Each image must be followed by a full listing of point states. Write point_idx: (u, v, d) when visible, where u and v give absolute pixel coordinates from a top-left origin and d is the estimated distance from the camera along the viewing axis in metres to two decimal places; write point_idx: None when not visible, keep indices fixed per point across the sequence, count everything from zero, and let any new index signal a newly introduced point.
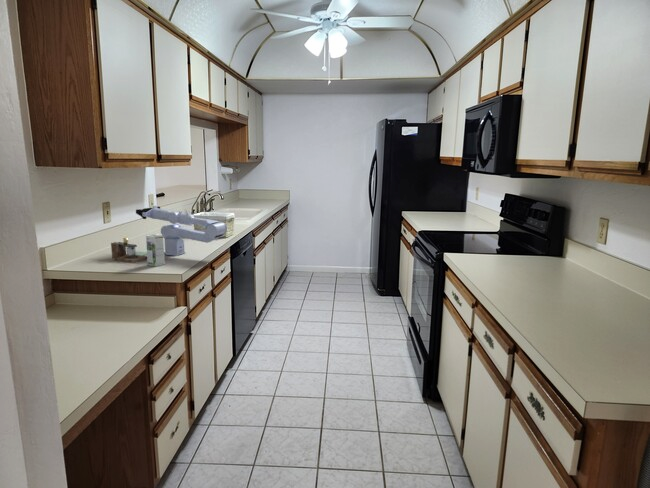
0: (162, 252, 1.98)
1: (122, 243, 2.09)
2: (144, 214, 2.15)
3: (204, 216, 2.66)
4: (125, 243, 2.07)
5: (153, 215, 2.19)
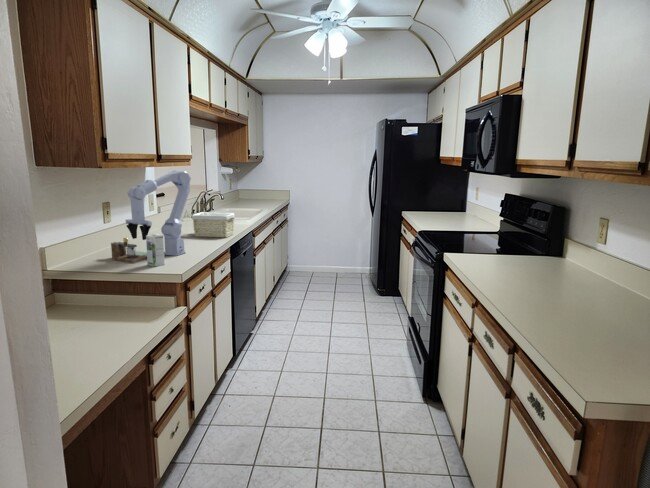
0: (162, 252, 1.98)
1: (122, 243, 2.09)
2: (149, 222, 2.02)
3: (204, 216, 2.66)
4: (125, 243, 2.07)
5: (143, 218, 2.04)
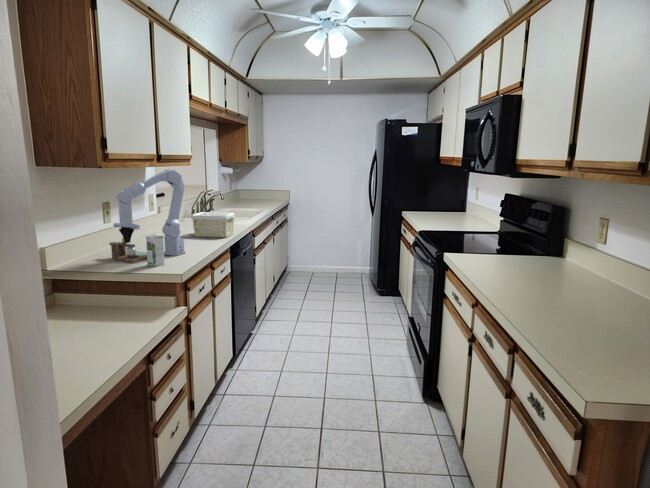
0: (162, 252, 1.98)
1: (120, 243, 2.09)
2: (137, 226, 2.03)
3: (204, 216, 2.66)
4: (123, 243, 2.07)
5: (131, 222, 2.05)
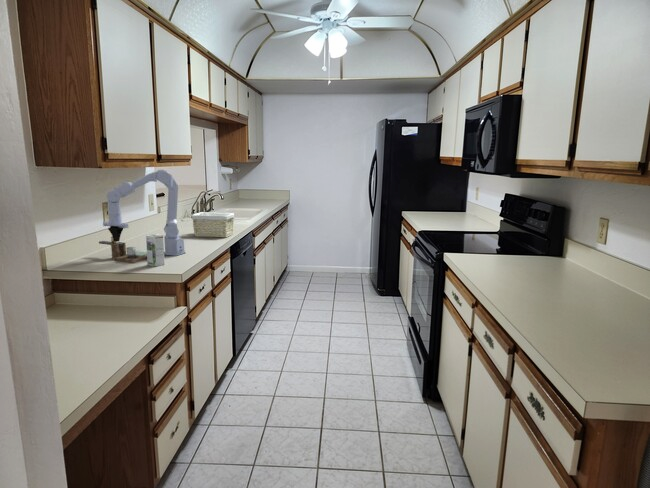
0: (162, 252, 1.98)
1: (110, 242, 2.12)
2: (126, 225, 2.05)
3: (204, 216, 2.66)
4: (113, 242, 2.09)
5: (120, 221, 2.07)
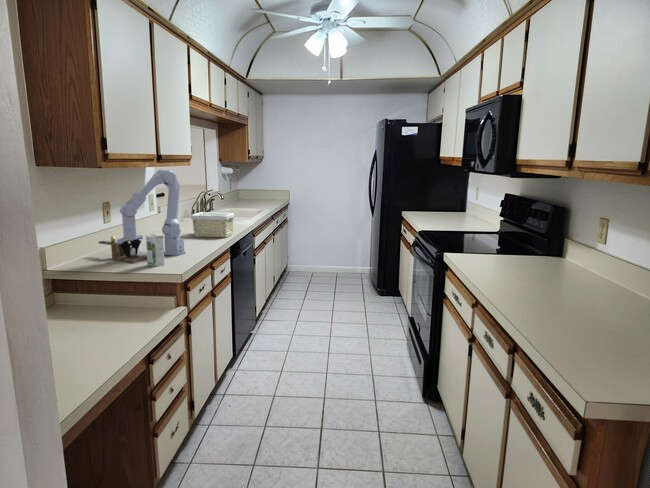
0: (162, 252, 1.98)
1: (109, 242, 2.12)
2: None
3: (204, 216, 2.66)
4: (112, 241, 2.09)
5: None
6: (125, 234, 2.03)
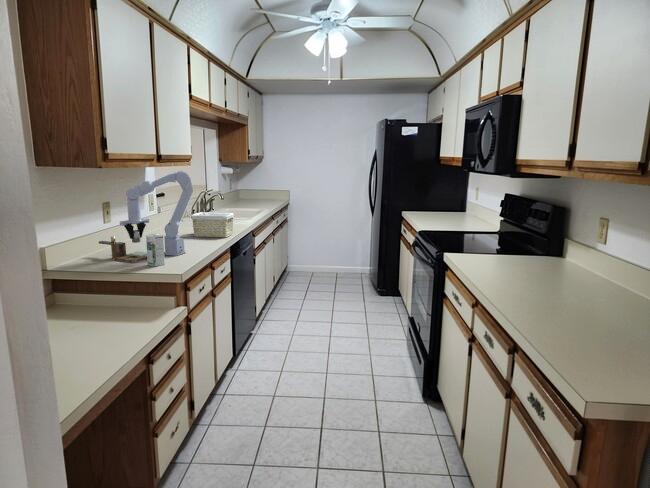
0: (162, 252, 1.98)
1: (109, 242, 2.12)
2: None
3: (203, 216, 2.66)
4: (112, 241, 2.09)
5: None
6: (129, 217, 2.10)
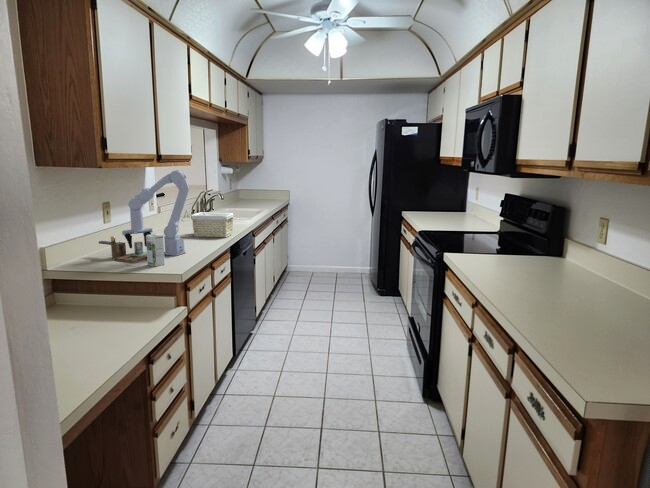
0: (162, 252, 1.98)
1: (109, 242, 2.12)
2: None
3: (203, 216, 2.66)
4: (112, 241, 2.09)
5: None
6: (131, 226, 2.14)
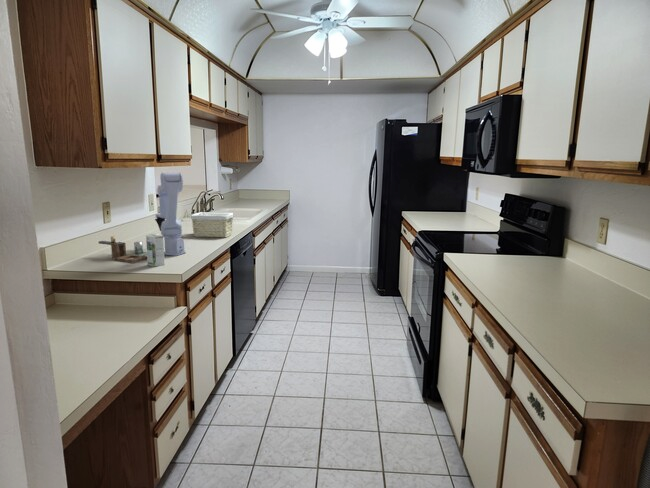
0: (162, 252, 1.98)
1: (109, 242, 2.12)
2: None
3: (203, 216, 2.66)
4: (112, 241, 2.09)
5: None
6: None
